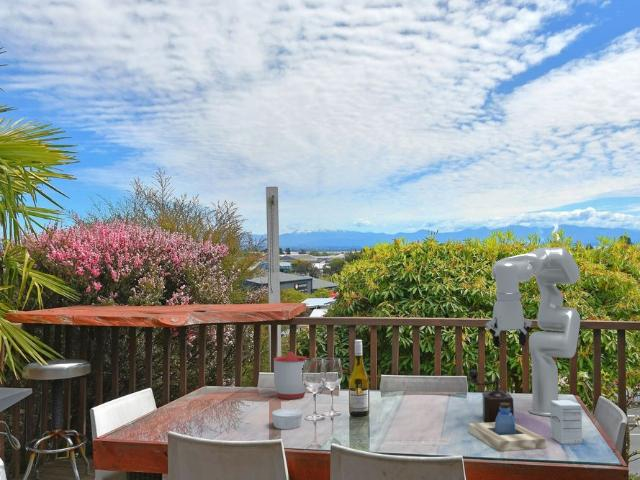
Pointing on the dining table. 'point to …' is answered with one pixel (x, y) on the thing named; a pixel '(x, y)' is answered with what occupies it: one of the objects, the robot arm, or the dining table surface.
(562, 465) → the dining table surface
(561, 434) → the supplement box
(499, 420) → the perfume bottle
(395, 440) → the dining table surface
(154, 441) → the dining table surface
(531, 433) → the hole board
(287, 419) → the ramekin
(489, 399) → the coffee grinder
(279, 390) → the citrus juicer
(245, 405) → the dining table surface
